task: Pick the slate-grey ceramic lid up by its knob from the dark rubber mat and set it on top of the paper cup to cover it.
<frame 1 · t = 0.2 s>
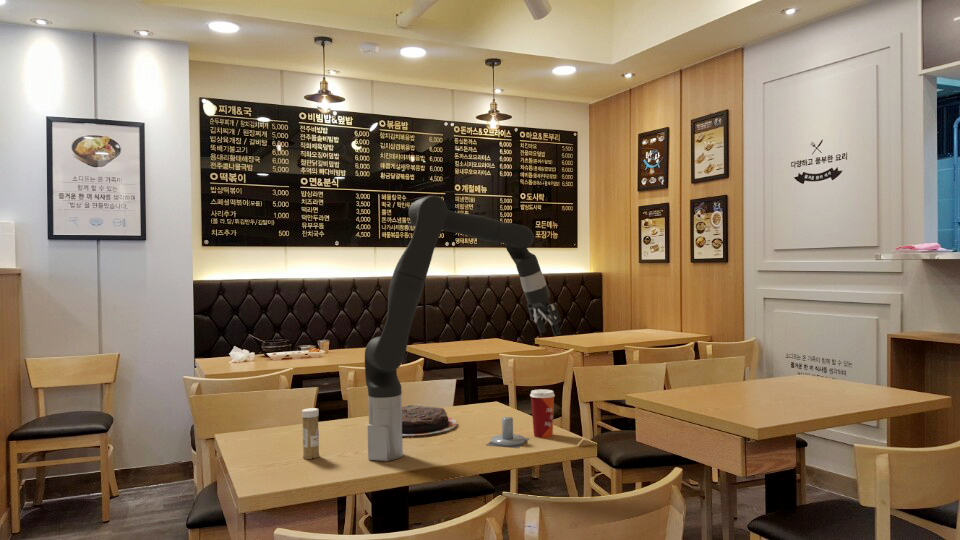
hand: (550, 333, 204), 31 cm above the table, tool tilted 20°, fingers open, 8 cm apart
chocolate cake: (415, 428, 211), on the table
sprinkles bottle: (311, 457, 178), on the table
lid: (507, 441, 188), resting on mat
mat: (508, 443, 188), on the table
paper cup: (543, 437, 195), on the table
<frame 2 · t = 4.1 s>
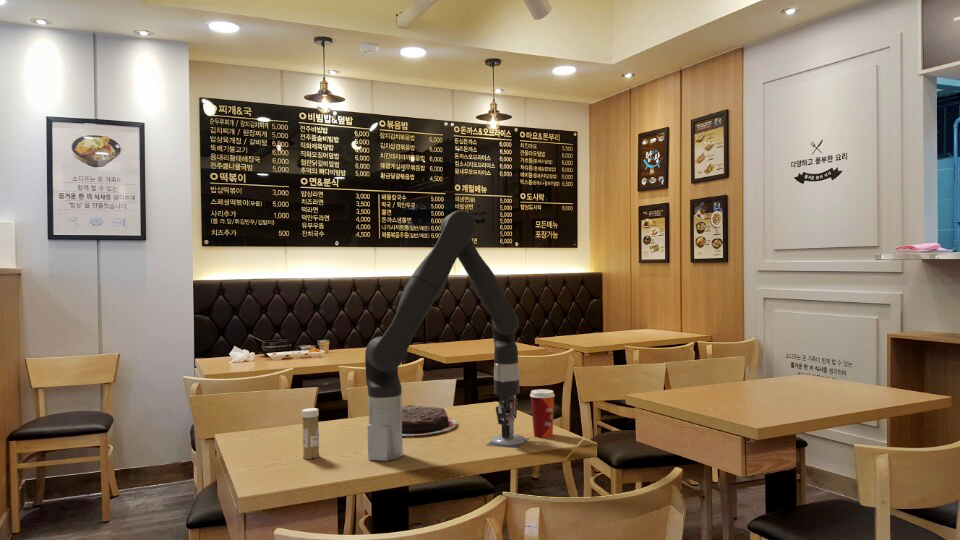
hand: (507, 435, 188), 2 cm above the table, tool pointing down, fingers closed on lid, 3 cm apart
lid: (507, 441, 188), resting on mat, touching gripper
everything else where it was.
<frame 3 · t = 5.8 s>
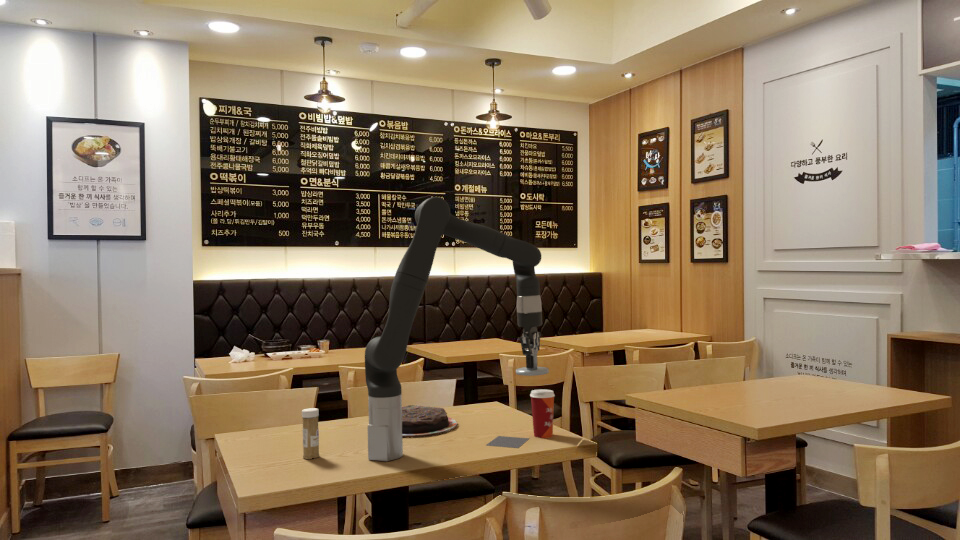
hand: (532, 366, 193), 22 cm above the table, tool pointing down, fingers closed on lid, 3 cm apart
lid: (532, 372, 193), point 20 cm above the table, touching gripper
everything else where it was.
when the fingers open (17 cm above the table, at t = 7.5 s): lid drops 1 cm, resting on paper cup.
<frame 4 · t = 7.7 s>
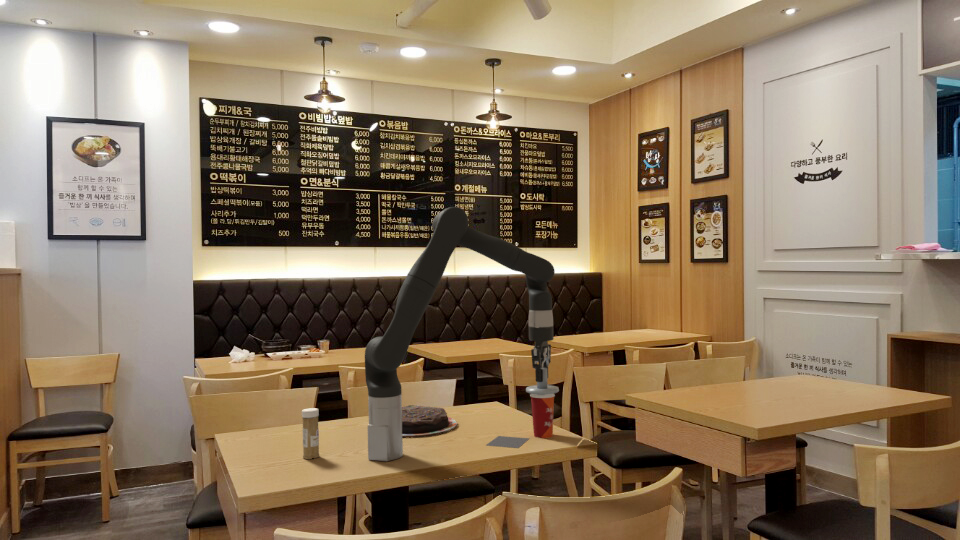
hand: (542, 379, 195), 17 cm above the table, tool pointing down, fingers open, 5 cm apart
lid: (542, 391, 195), point 14 cm above the table, touching paper cup
paper cup: (543, 437, 195), on the table, touching lid
everything else where it was.
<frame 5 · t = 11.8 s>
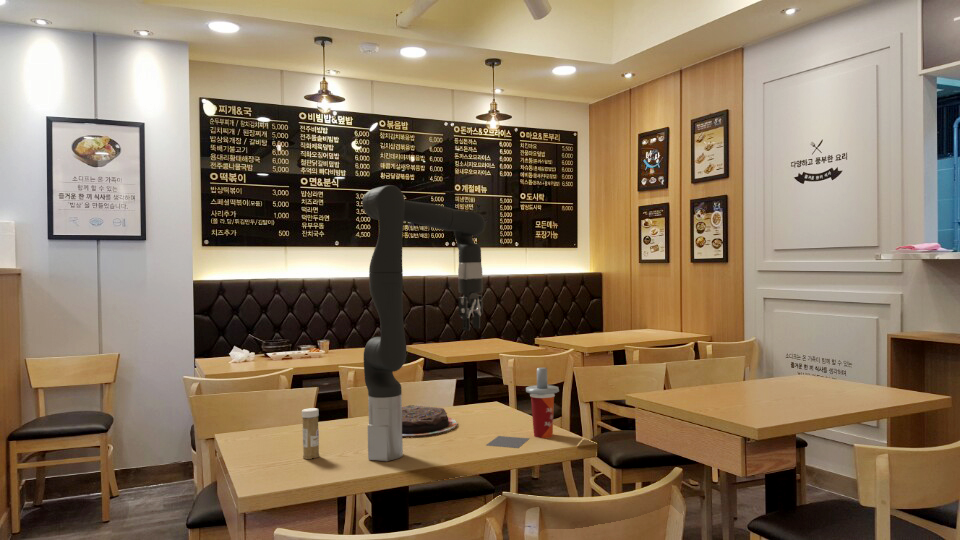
hand: (471, 329, 198), 33 cm above the table, tool pointing down, fingers open, 8 cm apart
nothing on the table moved.
at the end: lid 0.0 cm off-centre on the paper cup, point 14.2 cm above the paper cup's base; lid tilted 0°; paper cup tilted 0° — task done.
